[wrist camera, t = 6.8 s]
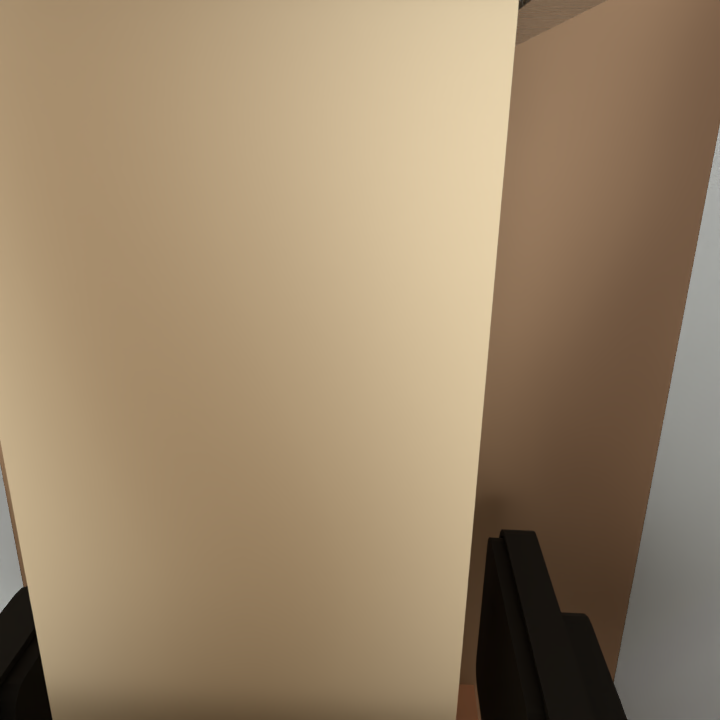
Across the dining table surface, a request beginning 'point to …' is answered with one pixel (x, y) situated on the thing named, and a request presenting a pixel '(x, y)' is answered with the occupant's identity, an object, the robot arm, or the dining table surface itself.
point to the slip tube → (248, 346)
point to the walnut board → (589, 294)
